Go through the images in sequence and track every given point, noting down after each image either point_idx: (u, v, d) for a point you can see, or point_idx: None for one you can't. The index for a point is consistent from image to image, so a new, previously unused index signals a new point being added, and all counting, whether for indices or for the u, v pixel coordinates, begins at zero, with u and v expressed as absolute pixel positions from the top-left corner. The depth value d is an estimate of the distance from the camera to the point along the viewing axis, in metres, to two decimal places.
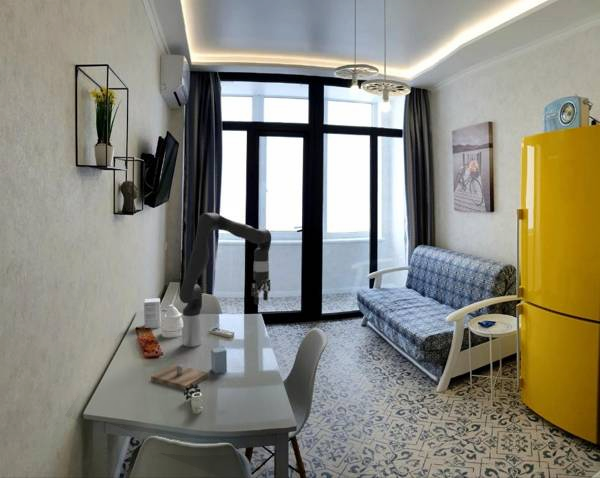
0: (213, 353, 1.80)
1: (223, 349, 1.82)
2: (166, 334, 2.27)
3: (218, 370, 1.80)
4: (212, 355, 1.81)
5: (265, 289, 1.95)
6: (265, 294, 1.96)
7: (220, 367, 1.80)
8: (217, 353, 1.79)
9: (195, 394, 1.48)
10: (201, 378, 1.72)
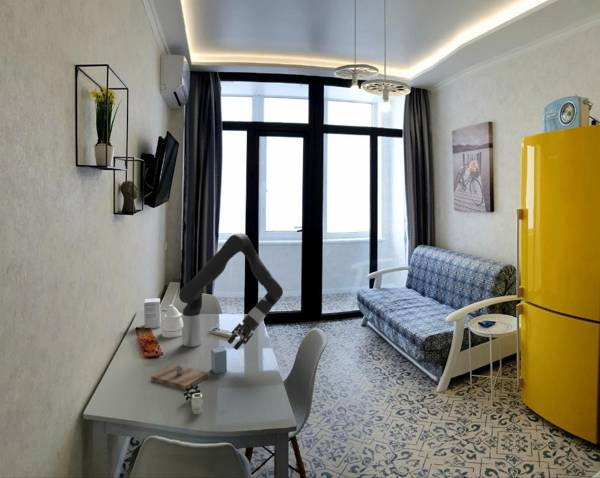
0: (213, 353, 1.80)
1: (223, 349, 1.82)
2: (166, 334, 2.27)
3: (218, 370, 1.80)
4: (212, 355, 1.81)
5: (239, 335, 1.90)
6: (233, 338, 1.89)
7: (220, 367, 1.80)
8: (217, 353, 1.79)
9: (195, 395, 1.47)
10: (201, 378, 1.72)
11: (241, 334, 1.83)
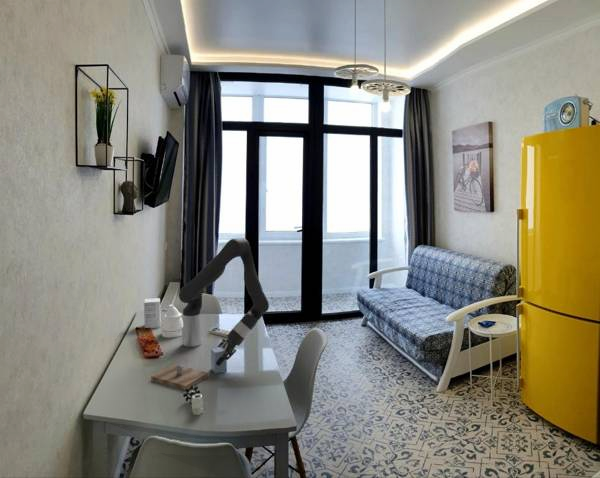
0: (213, 353, 1.80)
1: (223, 349, 1.82)
2: (166, 334, 2.27)
3: (218, 370, 1.80)
4: (212, 355, 1.81)
5: None
6: None
7: (220, 367, 1.80)
8: (217, 353, 1.79)
9: (195, 396, 1.47)
10: (201, 378, 1.72)
11: (224, 350, 1.80)
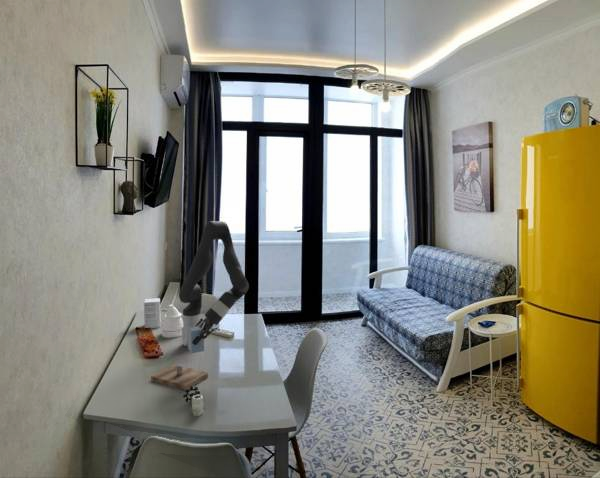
0: (190, 332, 1.74)
1: (200, 328, 1.76)
2: (166, 334, 2.27)
3: (195, 350, 1.74)
4: (189, 335, 1.75)
5: None
6: None
7: (197, 346, 1.74)
8: (194, 332, 1.73)
9: (196, 396, 1.46)
10: (201, 378, 1.72)
11: (201, 329, 1.74)
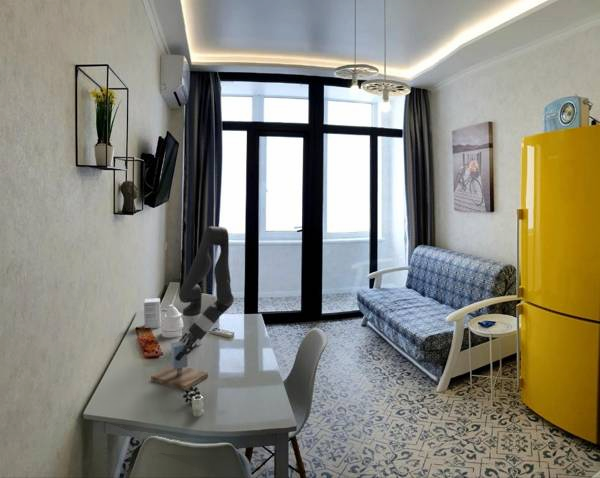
0: (172, 347, 1.71)
1: (183, 343, 1.73)
2: (166, 334, 2.27)
3: (178, 365, 1.70)
4: (172, 350, 1.72)
5: None
6: None
7: (180, 362, 1.71)
8: (177, 347, 1.70)
9: (196, 397, 1.46)
10: (201, 378, 1.72)
11: (184, 344, 1.71)
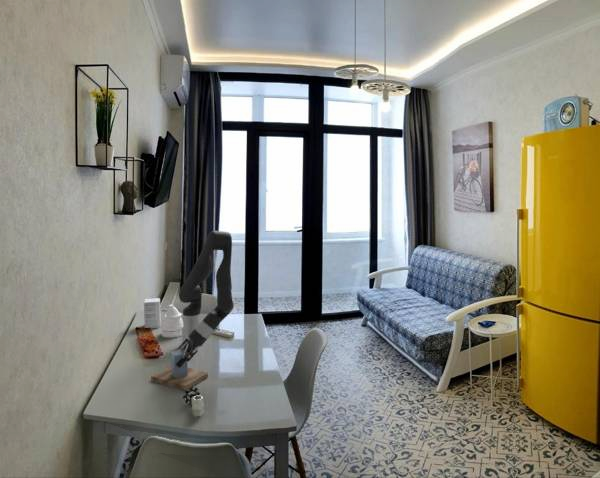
0: (173, 356, 1.71)
1: None
2: (166, 334, 2.27)
3: (178, 374, 1.71)
4: (172, 359, 1.73)
5: None
6: None
7: (181, 371, 1.71)
8: (177, 356, 1.70)
9: (196, 397, 1.46)
10: (201, 378, 1.72)
11: (185, 350, 1.71)
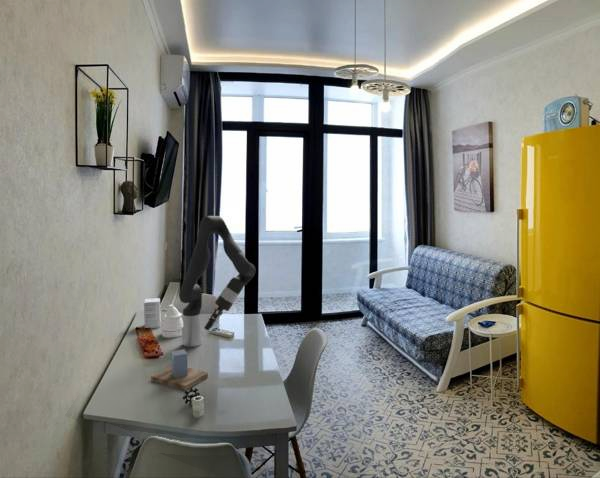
0: (173, 356, 1.71)
1: (184, 352, 1.73)
2: (166, 334, 2.27)
3: (178, 374, 1.71)
4: (172, 359, 1.73)
5: None
6: None
7: (181, 371, 1.71)
8: (177, 356, 1.70)
9: (196, 398, 1.45)
10: (201, 378, 1.72)
11: None
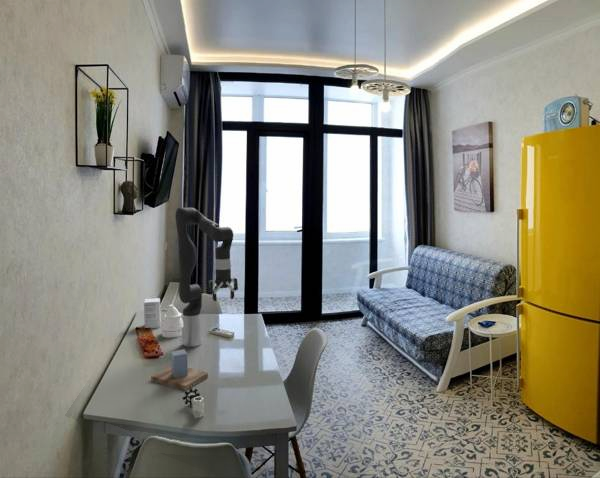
0: (173, 356, 1.71)
1: (184, 352, 1.73)
2: (166, 334, 2.27)
3: (178, 374, 1.71)
4: (172, 359, 1.73)
5: (229, 287, 1.94)
6: (231, 293, 1.95)
7: (181, 371, 1.71)
8: (177, 356, 1.70)
9: (196, 398, 1.45)
10: (201, 378, 1.72)
11: None
